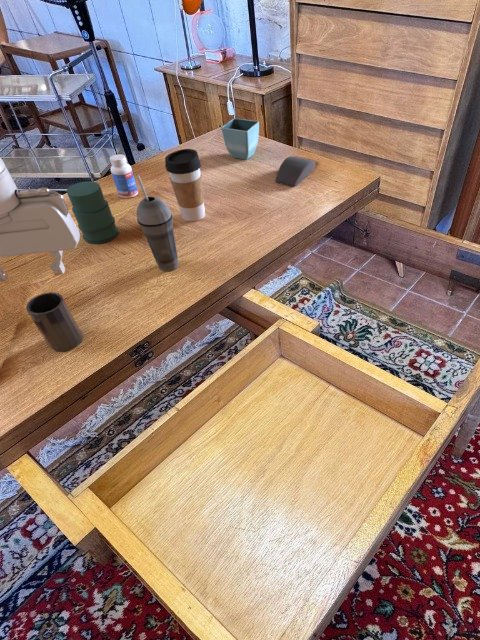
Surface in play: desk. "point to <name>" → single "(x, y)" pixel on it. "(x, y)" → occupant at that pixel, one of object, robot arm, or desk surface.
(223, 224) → the desk surface
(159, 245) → the beverage cup
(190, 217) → the coffee cup
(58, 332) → the charcoal cup
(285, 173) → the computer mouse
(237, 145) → the flower pot
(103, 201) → the cup stack
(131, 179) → the pill bottle
